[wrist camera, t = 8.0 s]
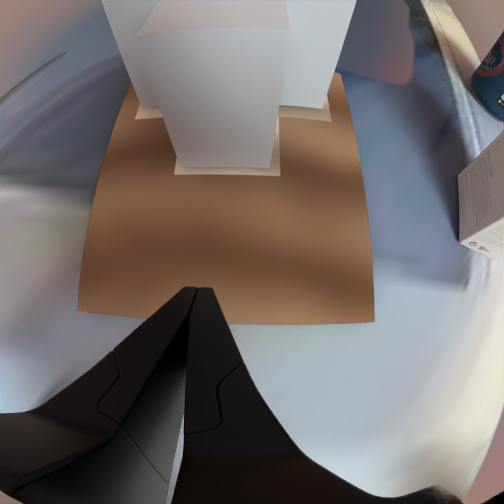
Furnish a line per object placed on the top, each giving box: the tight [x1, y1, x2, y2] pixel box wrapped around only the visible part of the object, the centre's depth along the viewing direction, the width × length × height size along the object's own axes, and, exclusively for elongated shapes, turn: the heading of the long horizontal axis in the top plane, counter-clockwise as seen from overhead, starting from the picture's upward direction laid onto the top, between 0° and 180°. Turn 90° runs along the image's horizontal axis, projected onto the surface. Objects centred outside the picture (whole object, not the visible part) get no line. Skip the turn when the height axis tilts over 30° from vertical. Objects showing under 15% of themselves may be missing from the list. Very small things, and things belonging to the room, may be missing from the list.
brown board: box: [77, 73, 375, 325], centre depth 17 cm, size 18×16×1 cm
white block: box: [102, 0, 356, 168], centre depth 12 cm, size 8×12×9 cm, turn 88°
